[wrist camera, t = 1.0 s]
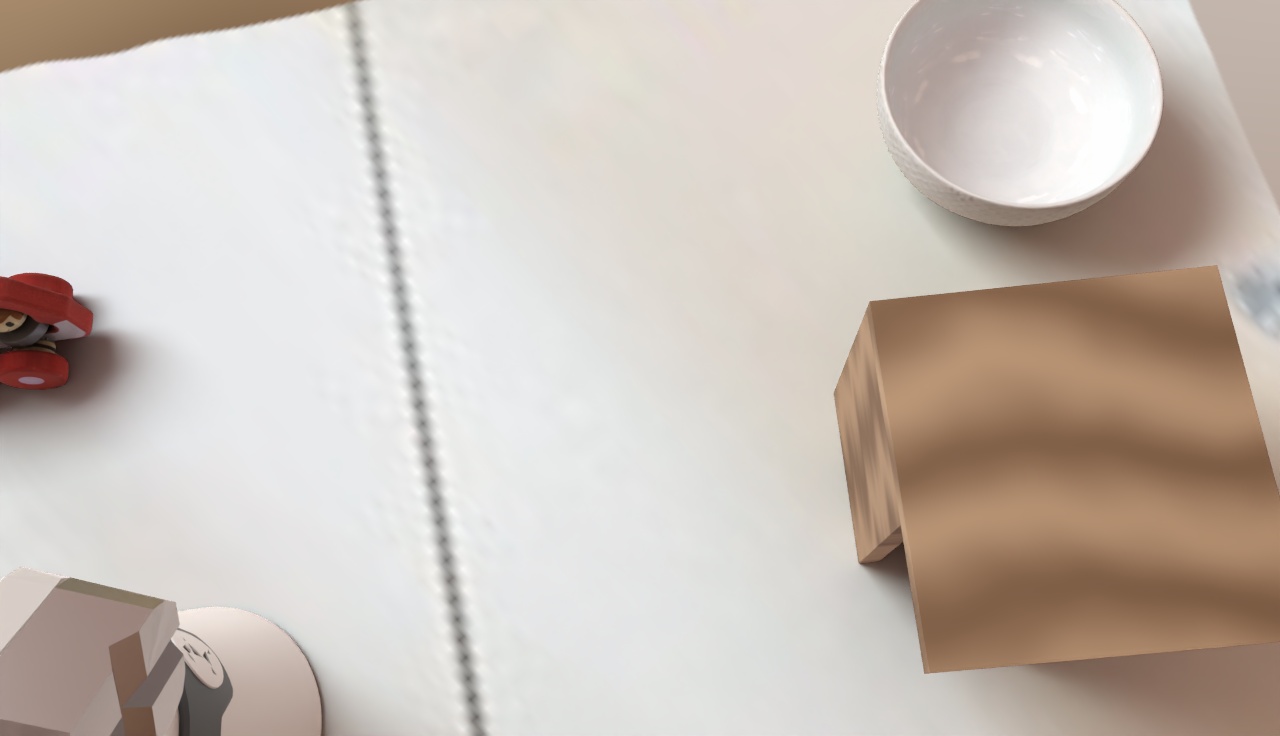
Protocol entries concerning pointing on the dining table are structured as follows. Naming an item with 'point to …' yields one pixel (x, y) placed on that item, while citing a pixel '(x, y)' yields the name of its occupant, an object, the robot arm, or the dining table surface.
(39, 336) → the toy fire truck
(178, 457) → the dining table surface
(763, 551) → the dining table surface
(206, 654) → the robot arm
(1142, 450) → the walnut shelf
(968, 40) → the cereal bowl
